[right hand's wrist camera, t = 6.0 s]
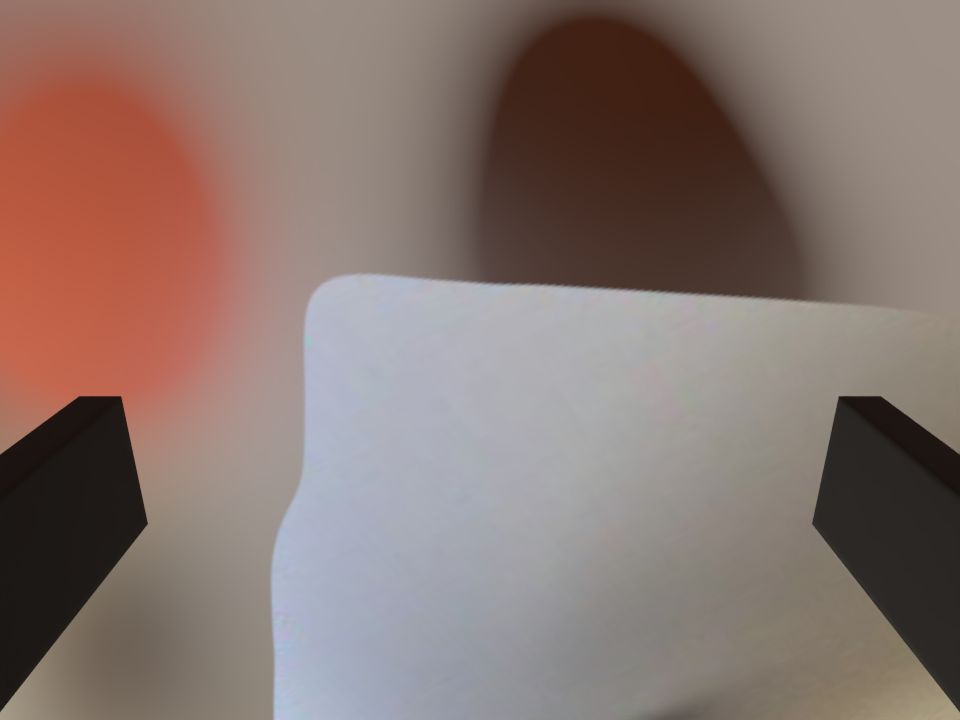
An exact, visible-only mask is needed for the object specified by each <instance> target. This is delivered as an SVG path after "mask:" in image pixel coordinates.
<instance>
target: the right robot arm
mask: <svg viewBox="0 0 960 720" xmlns="http://www.w3.org/2000/svg"><path fill="white" fill-rule="evenodd" d="M147 524H148V522H147V518H146V513H145V508H144V503H143V498H142V494H141V489H140V484H139V479H138V475H137V470H136V465H135V460H134V456H133V451H132V446H131V441H130V437H129V432H128V427H127V422H126V417H125V412H124V408H123V403H122V398H121V396H79V397H78V398H77V399H75V400H74V401H72V402H71V403H70V404H68V405H67V406H66V407H64V408H63V409H62V410H60V411H59V412H57V413H56V414H55V415H53V416H52V417H51V418H49V419H48V420H47V421H45V422H44V423H42V424H41V425H40V426H38V427H37V428H36V429H34V430H33V431H32V432H30V433H29V434H28V435H26V436H25V437H24V438H22V439H21V440H19V441H18V442H17V443H15V444H14V445H13V446H11V447H10V448H9V449H7V450H6V451H5V452H3V453H2V454H0V712H1V710H2V709H3V708H4V706H5V705H6V704H7V703H8V701H9V700H10V699H11V697H12V696H13V695H14V694H15V692H16V691H17V690H18V689H19V687H20V686H21V685H22V684H23V682H24V681H25V680H26V678H27V677H28V676H29V675H30V673H31V672H32V671H33V670H34V668H35V667H36V666H37V664H38V663H39V662H40V661H41V659H42V658H43V657H44V655H45V654H46V653H47V652H48V650H49V649H50V648H51V647H52V645H53V644H54V643H55V642H56V640H57V639H58V638H59V636H60V635H61V634H62V633H63V631H64V630H65V629H66V628H67V626H68V625H69V624H70V622H71V621H72V620H73V619H74V617H75V616H76V615H77V614H78V612H79V611H80V610H81V608H82V607H83V606H84V605H85V603H86V602H87V601H88V599H89V598H90V597H91V596H92V594H93V593H94V592H95V591H96V589H97V588H98V587H99V585H100V584H101V583H102V582H103V580H104V579H105V578H106V577H107V575H108V574H109V573H110V571H111V570H112V569H113V568H114V566H115V565H116V564H117V563H118V561H119V560H120V559H121V557H122V556H123V555H124V554H125V552H126V551H127V550H128V549H129V547H130V546H131V545H132V543H133V542H134V541H135V540H136V538H137V537H138V536H139V534H140V533H141V532H142V531H143V529H144V528H145V527H146V526H147ZM812 524H813V526H814V527H815V528H816V529H817V531H818V532H819V533H820V535H821V536H822V537H823V538H824V540H825V541H826V542H827V543H828V545H829V546H830V547H831V549H832V550H833V551H834V552H835V554H836V555H837V556H838V557H839V559H840V560H841V561H842V563H843V564H844V565H845V566H846V568H847V569H848V570H849V571H850V573H851V574H852V575H853V577H854V578H855V579H856V580H857V582H858V583H859V584H860V585H861V587H862V588H863V589H864V591H865V592H866V593H867V594H868V596H869V597H870V598H871V599H872V601H873V602H874V603H875V605H876V606H877V607H878V608H879V610H880V611H881V612H882V614H883V615H884V616H885V617H886V619H887V620H888V621H889V622H890V624H891V625H892V626H893V628H894V629H895V630H896V631H897V633H898V634H899V635H900V636H901V638H902V639H903V640H904V642H905V643H906V644H907V645H908V647H909V648H910V649H911V650H912V652H913V653H914V654H915V656H916V657H917V658H918V659H919V661H920V662H921V663H922V664H923V666H924V667H925V668H926V670H927V671H928V672H929V673H930V675H931V676H932V677H933V678H934V680H935V681H936V682H937V684H938V685H939V686H940V687H941V689H942V690H943V691H944V692H945V694H946V695H947V696H948V698H949V699H950V700H951V701H952V703H953V704H954V705H955V706H956V708H957V709H958V710H959V712H960V454H958V453H957V452H955V451H954V450H953V449H951V448H950V447H949V446H947V445H946V444H945V443H943V442H942V441H941V440H939V439H938V438H936V437H935V436H934V435H932V434H931V433H930V432H928V431H927V430H926V429H924V428H923V427H922V426H920V425H919V424H918V423H916V422H915V421H913V420H912V419H911V418H909V417H908V416H907V415H905V414H904V413H903V412H901V411H900V410H899V409H897V408H896V407H894V406H893V405H892V404H890V403H889V402H888V401H886V400H885V399H884V398H882V397H881V396H839V398H838V403H837V408H836V412H835V417H834V422H833V427H832V432H831V436H830V441H829V446H828V451H827V455H826V460H825V465H824V470H823V475H822V479H821V484H820V489H819V494H818V498H817V503H816V508H815V513H814V518H813V522H812Z"/></svg>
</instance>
